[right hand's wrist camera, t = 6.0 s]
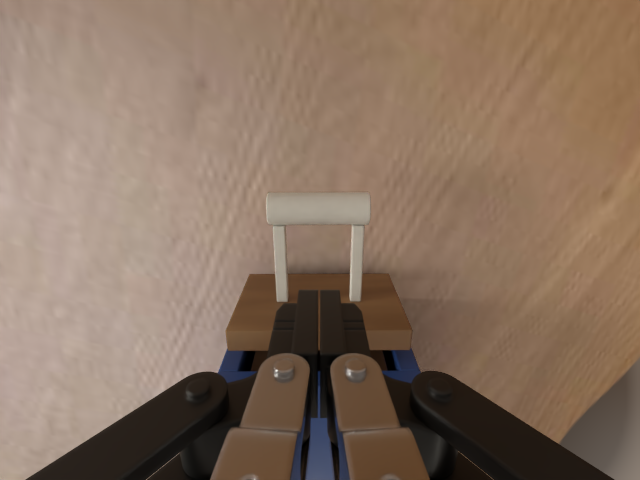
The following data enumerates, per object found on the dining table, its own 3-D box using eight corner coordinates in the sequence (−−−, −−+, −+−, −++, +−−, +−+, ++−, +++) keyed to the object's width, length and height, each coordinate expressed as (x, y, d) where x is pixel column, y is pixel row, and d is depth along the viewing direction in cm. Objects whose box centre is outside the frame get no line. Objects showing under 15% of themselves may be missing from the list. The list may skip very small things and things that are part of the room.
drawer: (241, 180, 20) (209, 208, 14) (395, 179, 20) (426, 207, 14) (266, 475, 28) (253, 564, 23) (373, 474, 28) (386, 564, 23)
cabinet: (246, 298, 24) (211, 386, 16) (392, 297, 24) (426, 385, 16) (264, 492, 31) (246, 615, 23) (376, 491, 31) (394, 614, 23)
